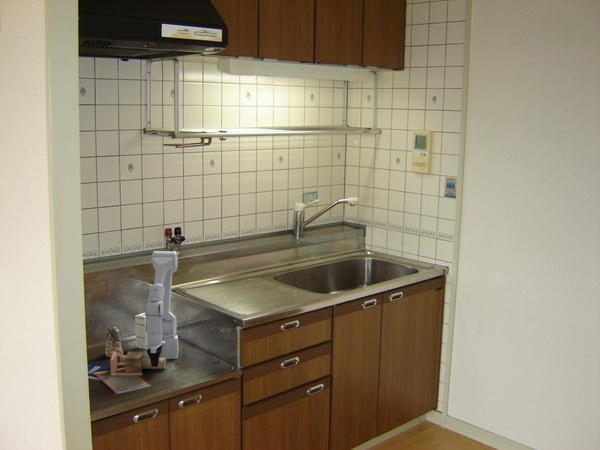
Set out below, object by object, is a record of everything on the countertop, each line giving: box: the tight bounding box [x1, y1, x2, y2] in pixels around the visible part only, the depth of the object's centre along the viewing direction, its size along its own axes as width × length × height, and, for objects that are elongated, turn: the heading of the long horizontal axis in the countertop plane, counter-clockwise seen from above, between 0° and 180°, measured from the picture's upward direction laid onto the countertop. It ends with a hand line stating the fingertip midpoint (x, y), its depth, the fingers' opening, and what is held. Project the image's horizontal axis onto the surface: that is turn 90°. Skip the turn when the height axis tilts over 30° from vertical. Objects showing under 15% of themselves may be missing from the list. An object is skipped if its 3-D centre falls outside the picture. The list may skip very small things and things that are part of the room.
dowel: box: [141, 357, 167, 370], centre depth 278 cm, size 12×4×4 cm, turn 97°
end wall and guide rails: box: [109, 352, 143, 377], centre depth 277 cm, size 12×12×6 cm
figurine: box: [104, 326, 124, 358], centre depth 294 cm, size 7×7×12 cm
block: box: [124, 350, 144, 374], centre depth 277 cm, size 6×9×6 cm, turn 7°
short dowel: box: [119, 354, 127, 363], centre depth 286 cm, size 8×3×3 cm, turn 97°
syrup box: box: [134, 312, 149, 350], centre depth 304 cm, size 6×6×14 cm
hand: (155, 364), depth 278 cm, fingers closed on dowel, 4 cm apart
